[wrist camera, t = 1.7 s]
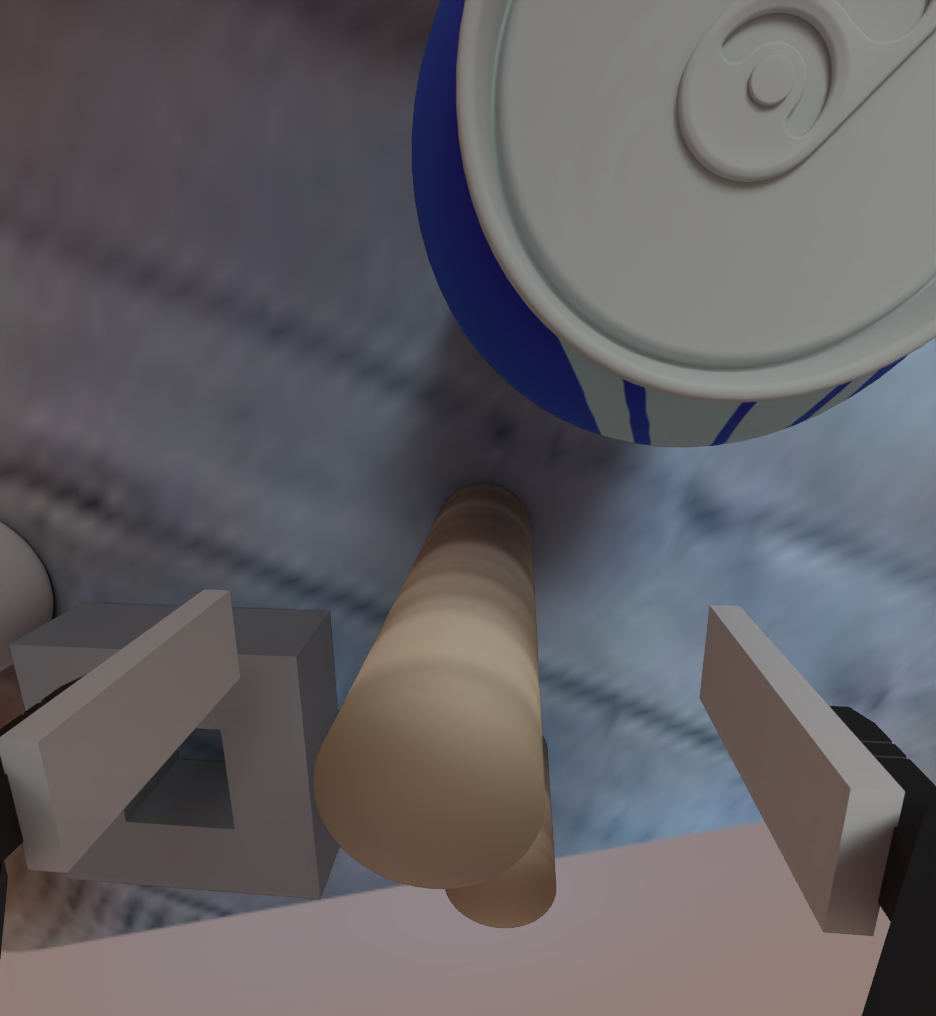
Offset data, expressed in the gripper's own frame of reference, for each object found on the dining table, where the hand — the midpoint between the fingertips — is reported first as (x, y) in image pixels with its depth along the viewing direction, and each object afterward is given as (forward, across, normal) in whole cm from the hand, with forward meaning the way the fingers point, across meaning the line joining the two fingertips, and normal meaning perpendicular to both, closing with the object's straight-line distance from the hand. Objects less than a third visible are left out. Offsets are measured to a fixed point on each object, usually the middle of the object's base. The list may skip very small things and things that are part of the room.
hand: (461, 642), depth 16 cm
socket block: (+9, -13, -10) cm, 18 cm away
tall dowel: (+9, 0, 0) cm, 9 cm away
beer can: (+9, +4, +10) cm, 14 cm away
